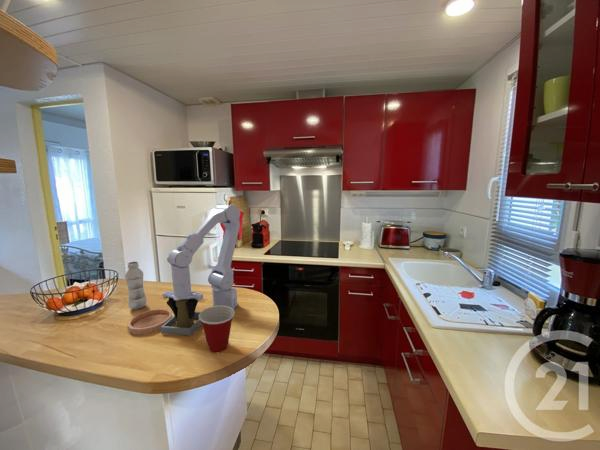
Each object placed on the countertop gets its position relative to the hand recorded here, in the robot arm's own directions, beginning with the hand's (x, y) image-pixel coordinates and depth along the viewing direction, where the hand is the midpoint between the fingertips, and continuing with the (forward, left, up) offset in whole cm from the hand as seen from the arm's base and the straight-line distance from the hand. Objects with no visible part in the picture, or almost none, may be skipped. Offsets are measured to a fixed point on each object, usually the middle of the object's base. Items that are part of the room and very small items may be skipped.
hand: (184, 317), depth 88 cm
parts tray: (0, 0, -3) cm, 3 cm away
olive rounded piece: (0, 0, -4) cm, 4 cm away
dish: (+14, 0, -3) cm, 14 cm away
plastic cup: (-18, +10, -4) cm, 21 cm away
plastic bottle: (+28, -10, -4) cm, 30 cm away
